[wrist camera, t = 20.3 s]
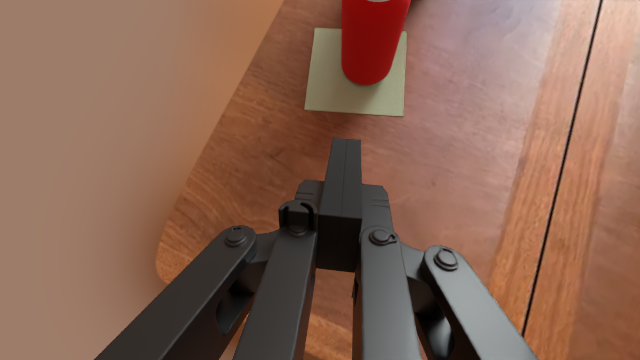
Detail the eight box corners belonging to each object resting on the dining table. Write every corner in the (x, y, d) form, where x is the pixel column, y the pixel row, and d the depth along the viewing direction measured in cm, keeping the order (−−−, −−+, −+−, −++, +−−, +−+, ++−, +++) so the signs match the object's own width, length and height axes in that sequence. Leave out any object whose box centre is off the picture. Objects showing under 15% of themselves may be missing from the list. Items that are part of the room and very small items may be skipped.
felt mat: (304, 110, 33) (304, 109, 33) (315, 28, 36) (315, 27, 36) (402, 116, 32) (402, 116, 32) (406, 32, 35) (406, 31, 34)
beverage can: (332, 76, 34) (328, -11, 22) (356, 39, 35) (365, -63, 23) (374, 98, 33) (394, 17, 21) (399, 59, 34) (430, -38, 22)
